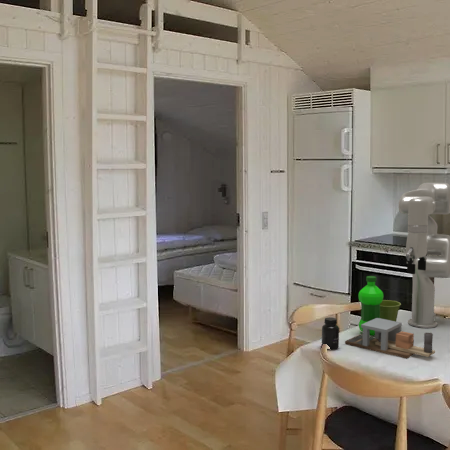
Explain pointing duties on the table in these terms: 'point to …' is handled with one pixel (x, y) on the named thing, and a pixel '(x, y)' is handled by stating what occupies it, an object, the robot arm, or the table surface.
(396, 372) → the table surface
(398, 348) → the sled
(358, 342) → the track board
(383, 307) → the plant pot
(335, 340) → the supplement bottle
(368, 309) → the plastic bottle
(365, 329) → the tunnel
